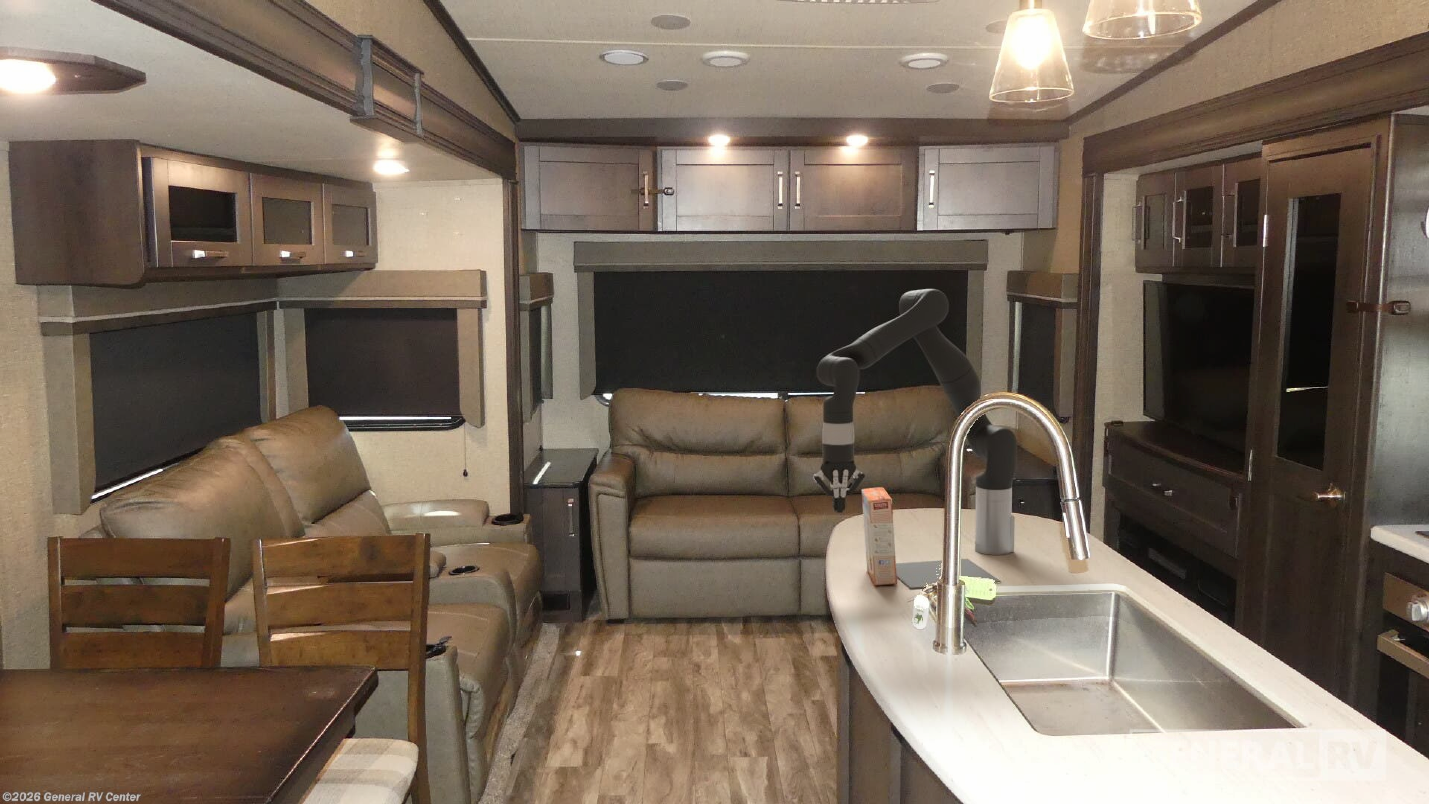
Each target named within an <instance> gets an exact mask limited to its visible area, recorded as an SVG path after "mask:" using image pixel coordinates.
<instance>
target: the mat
mask: <svg viewBox="0 0 1429 804" xmlns="http://www.w3.org/2000/svg"><path fill="white" fill-rule="evenodd" d="M960 559H961V576H968V577H981V578H989V579H993V580H995V582H1001V583H1002V581H1001V580H1000V579H998V578H997V577H996V576H995V575H993V574H991V573H990V572H988V571H987V570H985V569H984V568H982V567H981V566H979V565H978V564H976V563H975V562H973V561H972V560H970V559H969V558H960ZM941 563H942V559H940V560H928V561H915V562H898V563H897V562H896V572H897V580H899V581H900V580H901V581H900V582H901V583H903V585H905V586H906V585H907V586H908V587H909V588H908V587H907V586H906V587H907V588H908V589H910V590H916V589H918V590H919V589H924V588H923V587H924V586H926V585H927V584H928V585H929V584H932V583H936V582H937V581H938V580H939V577H940V576H941V569H940V570H939V568H941ZM939 565H940V566H939ZM936 568H937V569H936ZM936 571H937V572H936ZM936 574H939V575H936ZM937 577H938V578H937ZM926 583H927V584H926ZM913 588H914V589H913Z"/></svg>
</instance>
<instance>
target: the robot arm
mask: <svg viewBox="0 0 1429 804" xmlns="http://www.w3.org/2000/svg"><path fill="white" fill-rule="evenodd" d="M898 302H899V303H898V311H899V316H897V317H895V318H894V319H891V320H889V321H886V322H884V323H882V324H880V325H878V326H875V327H874V328H872V329H871V330H869V331H867V332H866V333H864V334H862V336H860V337H858V338H857V339H856V340H854V341H853V342H852V343H851V344H849V345H846V346H843V347H840V348H839V349H836V350H834V351H833V352H830V353H829V354H827V355H826V356H825V357H823V358H822V359H821V360H820V361H819V363H818V365H817V366H816V378H817V379H818V381H819V382H820V383H821V384H823V385H825V386H828V387H834V391H833V393H832V396H828V397H826V398H825V399H824V400H823V404H822V405H823V409H822V414H823V416H822V418H823V419H822V420H823V421H822V422H823V423H822V424H823V425H822V433H821V434H822V436H821V437H822V438H821V440H822V444H821V446H822V447H821V448H822V452H821V453H822V463H821V465H820V470H819V471H818V472H817V473H814V474H812V475H811V478H812V480H814V482H815V483H816V484H817V485H818V486H819V487H820V489H821V490H822V491H823V493H824V494H826V495H827V496H828V497H831V506H832V507H831V508H832V510H833V511H834V512H835V513H836V514H843V513H844V511H845V510H846V497H848V496H849V495H853V493H854V492H855V491H856V489H857V488H858V487H859V485H860V484H861V482H863V480H864V479H865V477H866V475H865V474H864V473H863V472H862V471H860V470H858V469H857V466H856V464H855V437H856V436H855V427H854V402H855V398H856V395H857V391H858V386H859V383H860V375H861V373H860V370H865V369H868V368H870V367H871V366H873V365H874V364H876V362H878V361H879V360H881V359H882V358H883V357H884V356H886V355H887V354H888V353H890V352H892V351H893V350H895V349H896V348H897V347H899V346H900V345H902V344H903V343H905V342H907V341H909V340H910V339H912V338H914V340H915V341H916V342H917V344H918V346H919V348H920V349H921V351H922V352H923V355H924V356H925V358H926V360H927V361H928V363H929V365H930V366H931V369H932V371H933V373H934V374H935V376H936V379H937V381H938V383H939V384H940V386H941V388H942V391H944V393H945V395H946V397H947V399H948V401H949V403H950V404H951V406H952V409H953V410H954V413H955V414H956V416H957V418H958V417H959V416H960V415H961V413H962V412H963V411H964V410H965V409H966V408H967V407H968V406H970V405H971V404H972V403H973V402H975V401H977V400H978V399H980V400H981V382H980V379H979V376H978V374H977V372H976V370H975V368H974V366H973V364H972V363H971V361H970V359H969V358H968V357H967V355H966V354H965V353H964V352H963V351H962V350H960V349H959V348H958V347H957V346H956V345H955V344H953V343H952V341H950V340H949V339H948V338H947V337H945V335H944V334H943V333H942V332H941V330H940V329H939V327H938V326H937V325H939V324H941V323H942V322H943V321H944V320H945V319H946V317H947V315H948V314H949V309H950V308H949V307H950V305H949V304H950V303H949V299H948V297H947V295H946V294H945V293H944V292H942V291H941V290H940V289H935V288H925V289H923V288H922V289H917V290H909V291H907V292H905V293H904V294H902V295H901V297H900V299H899V301H898ZM966 440H967V442H968V444H969V447H970V449H971V450H972V452H973V453H974V455H976V456H977V457H978V458H981V459H983V460H986V467H985V470H984V472H981V473H979V474H977V475H976V478H975V517H974V518H975V523H974V524H975V526H974V527H975V528H974V529H975V530H974V532H975V534H974V539H975V540H974V550H975V551H976V552H978V553H980V554H986V555H993V556H994V555H998V556H999V555H1006V554H1009V553H1014V552H1015V527H1016V526H1015V525H1016V524H1015V522H1016V517H1015V515H1012V513H1013V510H1012V509H1013V506H1012V504H1013V498H1012V497H1013V481H1014V479H1015V476H1016V471H1017V458H1018V457H1017V456H1018V454H1017V453H1018V442H1017V436H1016V434H1015V432H1014V431H1013V430H1011V429H1010V428H1007V427H1004V426H999V425H995V424H993V423H992V422H991V421H990V419H989V418H988V416H987V414H986V413H985V414H984V415H982V416H981V417H979V418H978V420H976V421H975V423H974V424H973V426H972V427H971V428H970V431H969V433H968V434H967V437H966ZM824 476H825V478H826V480H827V481H828V482H829V486H830V488H829V487H828V486H827V485H826V483H825V482H824V479H825V478H824ZM852 477H853V478H852ZM851 478H852V479H851ZM850 479H851V481H850V482H849V480H850ZM848 482H849V483H848Z"/></svg>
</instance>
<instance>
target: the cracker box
mask: <svg viewBox="0 0 1429 804" xmlns="http://www.w3.org/2000/svg"><path fill="white" fill-rule="evenodd" d="M861 499H862V500H861V501H862V515H863V529H864V542H865V543H864V544H865V560H866V570H867V572H868V575H869V578H870V579H871V582H872V584H873V586H886V585H888V586H889V585H898V578H897V572H896V563H897V560H896V557H897V556H896V544H895V531H894V530H895V529H894V528H895V527H894V512H893V499H892V498H891V496H890V495H889V494H888V492H887V490H886V489H885V488H884V487H868V488H862V489H861Z"/></svg>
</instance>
